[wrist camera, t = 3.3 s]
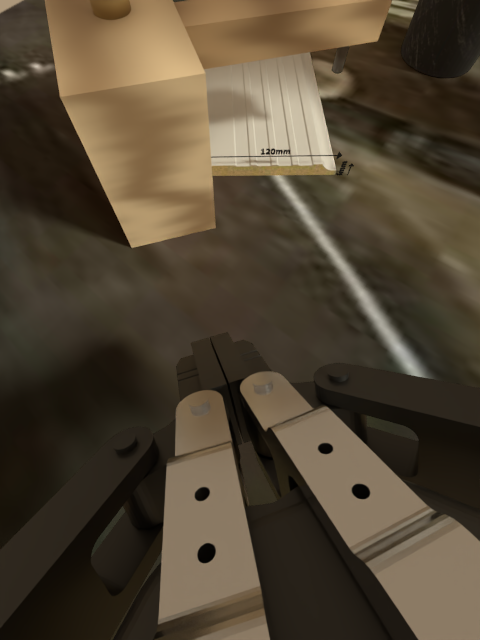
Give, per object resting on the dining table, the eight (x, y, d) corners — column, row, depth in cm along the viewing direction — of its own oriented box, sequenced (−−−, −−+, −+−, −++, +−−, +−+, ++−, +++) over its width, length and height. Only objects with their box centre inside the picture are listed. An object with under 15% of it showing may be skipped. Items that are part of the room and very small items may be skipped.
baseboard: (304, -12, 38) (203, -13, 37) (310, -48, 35) (201, -49, 35) (351, 180, 25) (202, 182, 25) (365, 148, 23) (198, 150, 22)
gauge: (305, 96, 29) (345, -92, 19) (365, 192, 24) (457, 12, 14) (105, 133, 26) (29, -63, 16) (131, 248, 22) (49, 75, 12)
